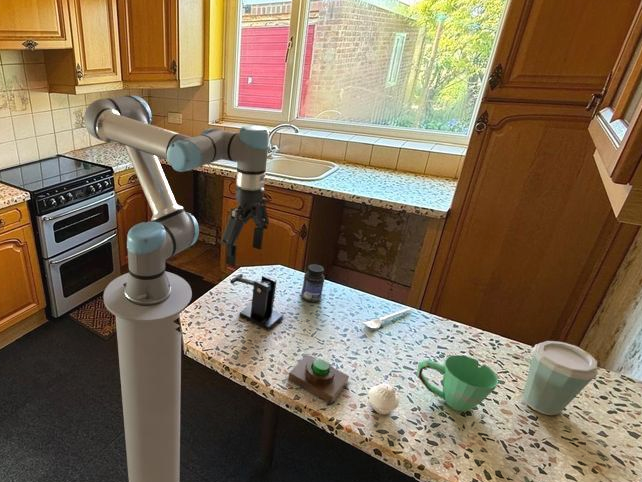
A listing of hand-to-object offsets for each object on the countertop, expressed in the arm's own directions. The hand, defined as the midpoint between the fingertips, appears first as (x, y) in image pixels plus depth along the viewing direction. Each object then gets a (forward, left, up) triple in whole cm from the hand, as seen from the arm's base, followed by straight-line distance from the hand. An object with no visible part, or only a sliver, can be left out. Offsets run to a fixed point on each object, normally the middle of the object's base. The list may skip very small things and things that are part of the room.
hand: (244, 256), depth 116 cm
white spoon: (+35, +26, -19) cm, 48 cm away
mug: (+55, +4, -19) cm, 59 cm away
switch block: (+31, -11, -18) cm, 38 cm away
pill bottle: (+13, +21, -19) cm, 31 cm away
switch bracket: (+7, +1, -18) cm, 20 cm away
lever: (+3, +1, -9) cm, 10 cm away
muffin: (+45, -9, -19) cm, 50 cm away
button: (+31, -11, -15) cm, 37 cm away
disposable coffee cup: (+71, +18, -19) cm, 76 cm away
